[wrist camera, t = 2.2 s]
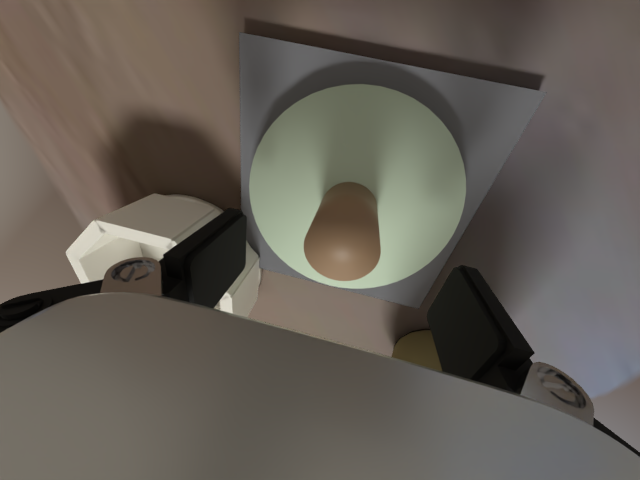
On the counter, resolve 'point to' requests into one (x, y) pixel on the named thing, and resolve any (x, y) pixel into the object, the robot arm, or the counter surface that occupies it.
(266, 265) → the mat
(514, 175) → the counter surface
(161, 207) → the bowl
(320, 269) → the lid
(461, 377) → the robot arm
